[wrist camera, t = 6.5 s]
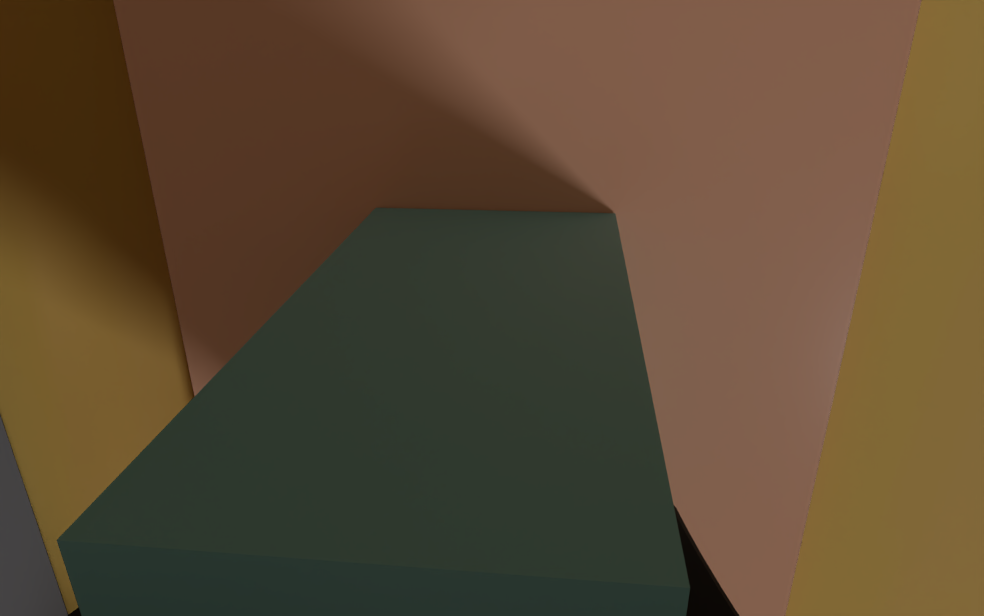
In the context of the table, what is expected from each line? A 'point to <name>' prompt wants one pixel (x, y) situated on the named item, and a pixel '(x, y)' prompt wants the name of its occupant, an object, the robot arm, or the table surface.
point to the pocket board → (22, 548)
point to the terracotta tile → (556, 191)
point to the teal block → (411, 443)
